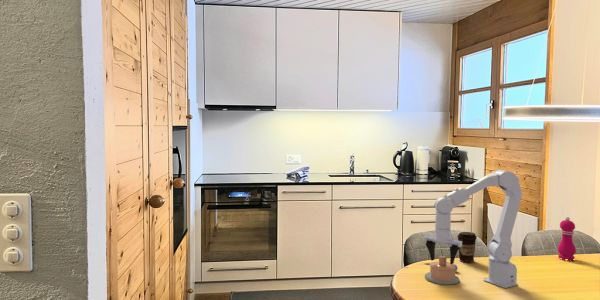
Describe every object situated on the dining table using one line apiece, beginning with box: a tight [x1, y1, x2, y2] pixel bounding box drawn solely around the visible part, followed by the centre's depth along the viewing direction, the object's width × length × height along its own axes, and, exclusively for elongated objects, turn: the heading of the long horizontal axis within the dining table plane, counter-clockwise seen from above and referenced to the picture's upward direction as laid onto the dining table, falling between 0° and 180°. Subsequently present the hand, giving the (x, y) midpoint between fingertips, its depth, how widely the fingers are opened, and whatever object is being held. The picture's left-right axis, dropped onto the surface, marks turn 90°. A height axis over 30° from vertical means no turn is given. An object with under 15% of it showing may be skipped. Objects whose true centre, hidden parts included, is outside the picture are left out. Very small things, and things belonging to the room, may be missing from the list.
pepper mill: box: [557, 216, 577, 260], centre depth 187 cm, size 7×7×20 cm
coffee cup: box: [457, 231, 478, 263], centre depth 183 cm, size 9×8×13 cm
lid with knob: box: [429, 255, 456, 281], centre depth 160 cm, size 10×10×8 cm
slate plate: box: [424, 271, 460, 286], centre depth 159 cm, size 13×13×1 cm
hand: (442, 261), depth 159 cm, fingers open, 7 cm apart
